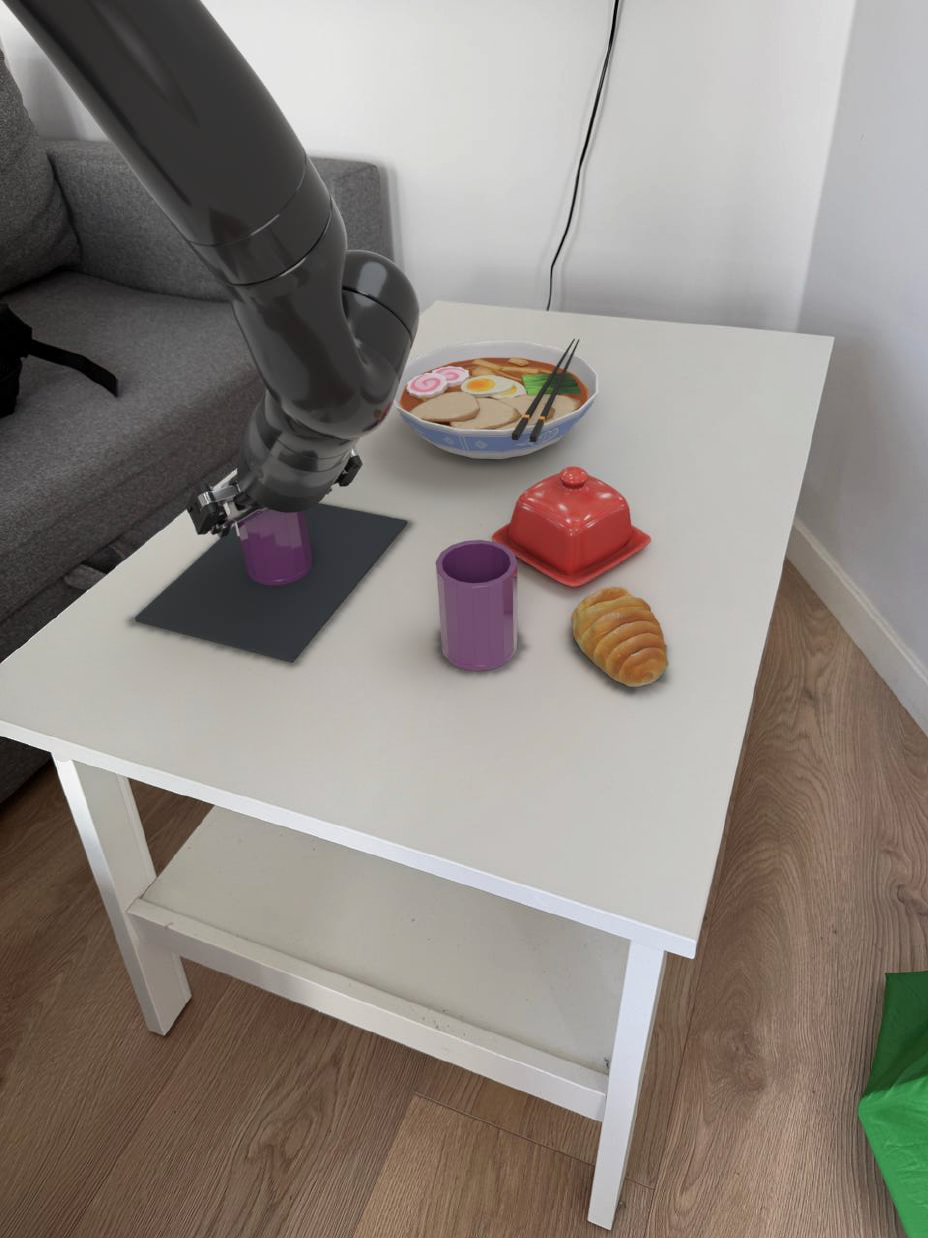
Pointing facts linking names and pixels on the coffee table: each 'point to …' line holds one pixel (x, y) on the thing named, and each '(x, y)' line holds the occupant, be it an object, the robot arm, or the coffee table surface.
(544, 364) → the ramen bowl
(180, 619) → the mat
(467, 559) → the plum cup side
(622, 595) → the pastry
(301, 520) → the plum cup front
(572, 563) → the butter dish
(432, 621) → the coffee table surface
